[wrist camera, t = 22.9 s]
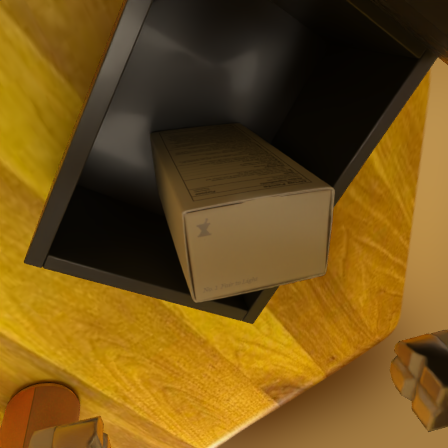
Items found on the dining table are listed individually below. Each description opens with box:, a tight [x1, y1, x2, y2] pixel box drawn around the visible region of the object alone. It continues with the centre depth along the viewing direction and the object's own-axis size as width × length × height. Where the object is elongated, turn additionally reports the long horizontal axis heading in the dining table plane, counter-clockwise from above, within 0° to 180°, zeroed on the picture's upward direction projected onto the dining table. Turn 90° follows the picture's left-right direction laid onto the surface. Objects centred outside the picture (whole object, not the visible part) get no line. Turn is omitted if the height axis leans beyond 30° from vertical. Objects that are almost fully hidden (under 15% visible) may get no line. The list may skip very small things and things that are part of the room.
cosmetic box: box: [150, 123, 335, 303], centre depth 20 cm, size 6×4×12 cm
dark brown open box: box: [24, 0, 438, 324], centre depth 21 cm, size 17×13×9 cm
